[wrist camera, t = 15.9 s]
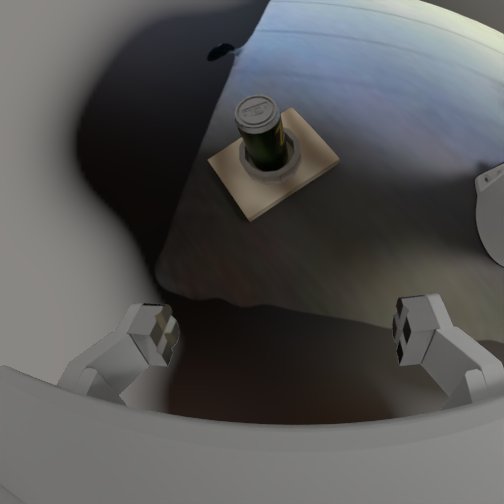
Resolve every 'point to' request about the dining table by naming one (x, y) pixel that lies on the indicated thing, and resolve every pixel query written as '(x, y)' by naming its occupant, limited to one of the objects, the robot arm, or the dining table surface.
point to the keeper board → (279, 192)
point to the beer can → (262, 132)
